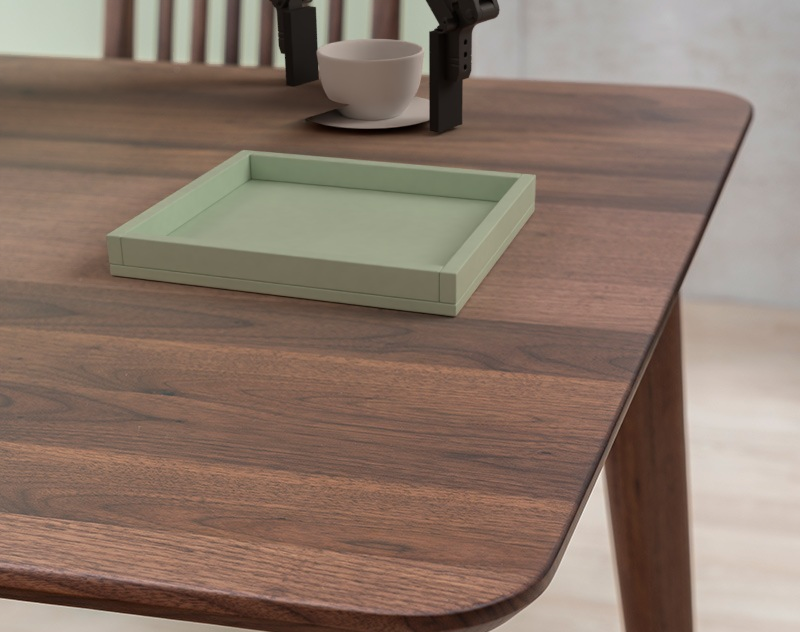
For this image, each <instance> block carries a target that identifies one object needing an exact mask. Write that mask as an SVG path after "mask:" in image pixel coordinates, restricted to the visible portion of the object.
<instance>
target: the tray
mask: <svg viewBox="0 0 800 632" xmlns="http://www.w3.org/2000/svg"><path fill="white" fill-rule="evenodd" d="M536 185H537V175H536V174H531V173H518V172H508V171H495V170H482V169H474V168H473V169H470V168H462V167H461V168H459V167H450V166H449V167H448V166H447V167H446V166H436V165H427V164H426V165H425V164H412V163H401V162H388V161H379V160H378V161H376V160H365V159H356V158H355V159H352V158H344V157H343V158H341V157H329V156H319V155H318V156H317V155H307V154H297V153H296V154H295V153H285V152H284V153H282V152H274V151H273V152H271V151H262V150H261V151H259V150H250V149H249V150H247V149H242V150H240V151H239V152H237V153H235V154H234V155H232V156H231V157H229V158H228V159H226V160H224V161H222V162H221V163H219V164H217V165H216V166H215V167H213V168H211V169H209V170H208V171H206V172H204V173H203V174H201V175H200V176H199V177H197V178H196V179H194V180H192V181H190V182H189V183H187V184H186V185H184V186H182V187H181V188H179V189H178V190H176V191H174V192H173V193H171V194H170V195H168V196H166V197H165V198H163V199H162V200H160V201H158V202H157V203H155V204H153V205H152V206H150V207H149V208H147V209H146V210H144V211H142V212H141V213H139V214H137V215H136V216H134V217H132V218H131V219H130V220H128V221H126V222H125V223H123V224H121V225H120V226H118V227H117V228H115V229H113V230H112V231H110V232H108V233H107V234H106V235H105V238H106V239H105V240H106V244H107V245H106V247H107V255H108V262H109V271H110V275H111V276H114V277H124V278H132V279H139V280H148V281H157V282H164V283H173V284H181V285H189V286H199V287H207V288H215V289H222V290H223V289H224V290H231V291H240V292H247V293H248V292H249V293H256V294H264V295H273V296H280V297H281V296H282V297H288V298H289V297H290V298H297V299H307V300H314V301H323V302H331V303H338V304H339V303H340V304H347V305H354V306H355V305H356V306H364V307H371V308H372V307H373V308H381V309H389V310H395V311H396V310H397V311H405V312H414V313H421V314H423V313H424V314H430V315H439V316H448V317H457V316H458V315H459V313H460V311H461V310H462V309H463V308H464V306H465V305H466V304H467V303H468V301H469V300H470V298H471V297H472V296H473V294H474V293H475V291H476V290H477V289H478V287H479V286H480V285H481V284H482V282H483V281H484V280H485V278H486V277H487V275H488V274H489V273H490V271H491V270H492V269H493V268H494V266H495V265H496V263H497V262H498V261H499V260H500V258H501V257H502V255H503V254H504V253H505V251H506V250H507V249H508V247H509V246H510V244H511V243H513V241H514V239H515V238H516V237H517V236H518V234H519V233H520V231H522V228H523V227H524V226H525V225H526V224H527V222H528V221H529V219H530V218H531V216H532V215H533V214H534V212H535V211H536V202H535V201H536V190H537V189H536Z"/></svg>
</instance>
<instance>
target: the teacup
mask: <svg viewBox="0 0 800 632" xmlns="http://www.w3.org/2000/svg"><path fill="white" fill-rule="evenodd" d="M424 57H425V48H424V47H423V46H422V45H420V44H418V43H416V42H411V41H407V40H400V39H389V38H388V39H387V38H361V39H360V38H359V39H347V40H339V41H334V42H330V43H326V44H324V45H323V44H322V45H321V46H319V47H318V49H317V59H318V69H319V79H320V82H321V86H322V89H323V91H324V93H325V95H326V97H327V98H328V99H329V100H331V101H332V102H335V103H338V104H343V105H344V106H341V107H337V108H334V109H331V110H330V109H329V110H328V111H324V112H321V113H317V114H314V115H312V116H308V117H305V119H306V120H307V121H310V122H313V123H316V124H320V125H324V126H329V127H335V128H343V129H363V130H364V129H365V130H366V129H367V130H368V129H370V130H371V129H373V130H374V129H391V128H401V127H408V126H413V125H417V124H418V125H419V124H421V123H425V122H428V121H429V98H426V97H425V98H424V97H420V96H416V95H417V92H418V91H419V88H420V84H421V81H422V76H423V75H422V74H423V65H424Z"/></svg>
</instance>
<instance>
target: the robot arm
mask: <svg viewBox="0 0 800 632" xmlns="http://www.w3.org/2000/svg"><path fill="white" fill-rule="evenodd" d="M269 2H271V5H272V6H273V7H274V8H275V10H276V20H277V21H276V23H277V37H278V39H277V42H278V50H279V51H280V54H282V55H284V69H285V85H286V86H288V87H293V88H294V87H298V86H302V85H305V84H309V83H313V82H315V81H319V80H320V72H319V65H318V59H317V49H318V48H319V47H318V24H317V23H318V21H317V20H318V19H317V6H311V5H307V4H311V3H312V2H313V0H269ZM425 2H426V3H427V5H428V7H429V9H430V11H431V13H432V14H433V16H434V18H435V20H436V22H437V23H438V25H437V26H436V28H434V30H433V29H432V30H429V32H428V34H429V35H428V52H429V53H428V65H429V66H428V73H429V74H428V75H429V77H428V79H429V80H428V82H429V83H428V85H429V86H428V88H429V89H428V91H429V93H428V96H429V98H428V100H429V120H428V121H429V122H428V123H429V124H428V125H429V132H433V133H437V134H439V133H442V132H445V131H448V130H450V129H454V128H456V127H459V126H462V125H463V97H464V95H463V93H464V92H463V89H464V87H463V84H464V83H463V82H464V80H467V79H469V78H470V76H471V73H472V64H473V63H472V60H473V59H472V58H473V57H472V55H473V54H472V53H473V30H474V29H475V27H476V26H477V25H479V24H481V23H485V22H487V21H492V20H494V19H496V18H498V17H499V15H500V5H499V2H498V0H425ZM303 5H307V6H303Z"/></svg>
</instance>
